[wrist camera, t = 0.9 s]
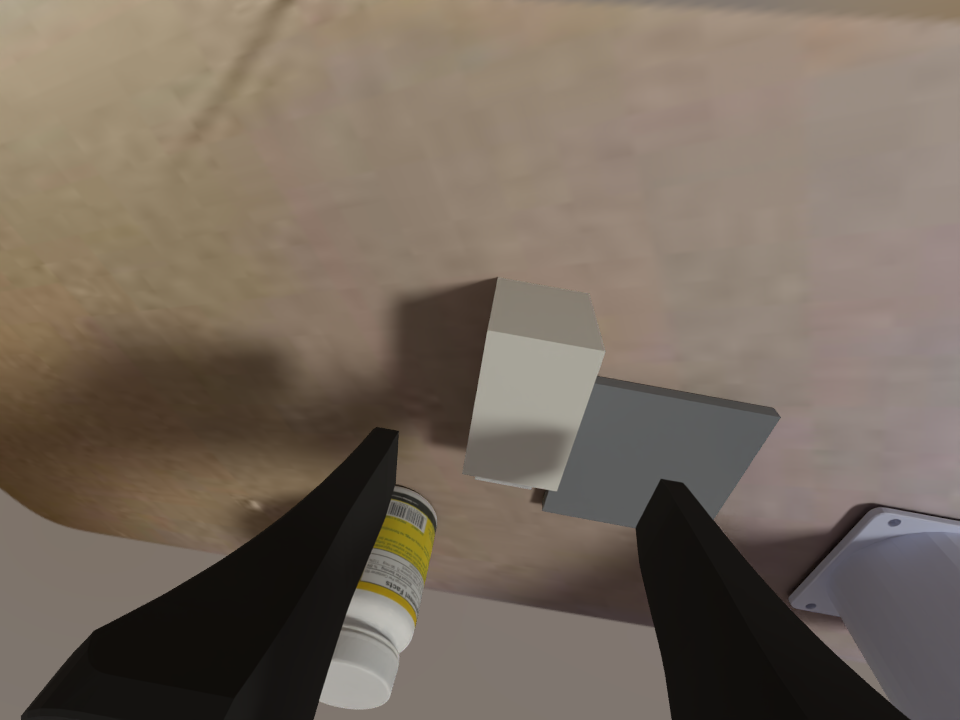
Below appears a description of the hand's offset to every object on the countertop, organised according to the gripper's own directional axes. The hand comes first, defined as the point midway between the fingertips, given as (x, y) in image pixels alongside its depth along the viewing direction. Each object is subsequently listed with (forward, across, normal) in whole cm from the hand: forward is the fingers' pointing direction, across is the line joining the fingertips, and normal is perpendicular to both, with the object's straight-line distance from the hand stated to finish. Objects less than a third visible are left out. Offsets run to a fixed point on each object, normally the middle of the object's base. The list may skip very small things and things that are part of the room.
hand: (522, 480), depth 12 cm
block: (+7, 0, 0) cm, 7 cm away
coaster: (+7, -7, +4) cm, 11 cm away
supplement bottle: (+7, +5, +12) cm, 14 cm away
